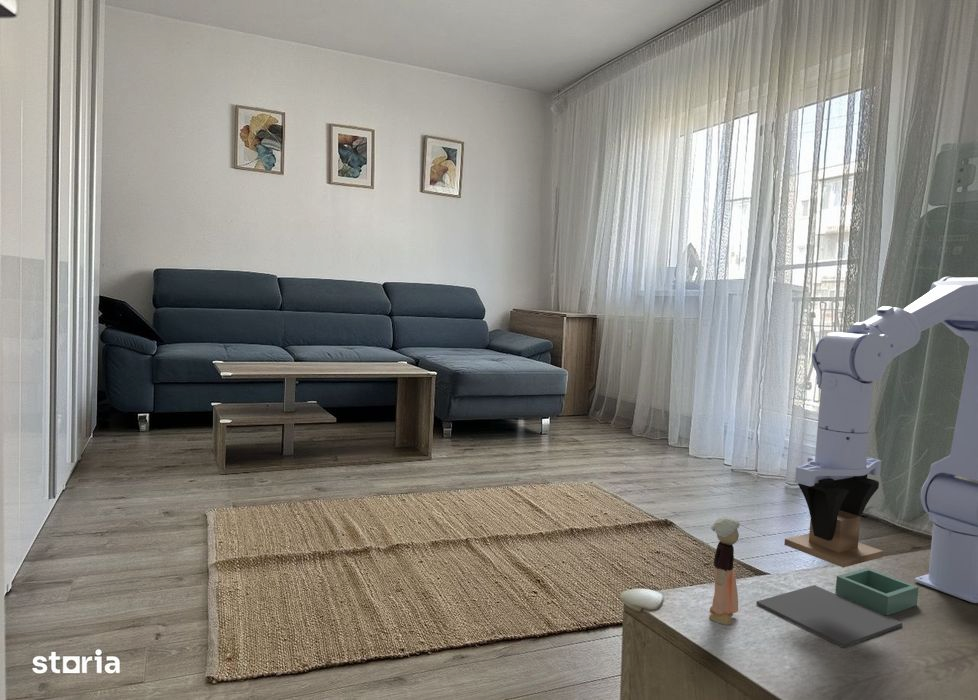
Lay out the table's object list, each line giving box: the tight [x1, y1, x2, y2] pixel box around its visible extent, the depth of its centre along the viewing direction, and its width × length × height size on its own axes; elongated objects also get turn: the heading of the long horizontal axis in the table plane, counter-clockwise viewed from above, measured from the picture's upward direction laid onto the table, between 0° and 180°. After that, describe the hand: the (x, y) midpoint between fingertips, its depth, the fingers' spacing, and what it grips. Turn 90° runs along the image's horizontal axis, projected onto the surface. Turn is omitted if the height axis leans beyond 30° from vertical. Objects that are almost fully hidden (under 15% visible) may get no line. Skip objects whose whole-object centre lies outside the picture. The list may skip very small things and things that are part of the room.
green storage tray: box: [834, 567, 919, 616], centre depth 91 cm, size 7×7×2 cm
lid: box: [784, 510, 884, 569], centre depth 85 cm, size 8×8×5 cm
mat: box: [755, 584, 903, 648], centre depth 86 cm, size 12×12×1 cm
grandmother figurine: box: [708, 515, 741, 626], centre depth 84 cm, size 8×4×13 cm, turn 168°
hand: (834, 535), depth 85 cm, fingers closed on lid, 4 cm apart
